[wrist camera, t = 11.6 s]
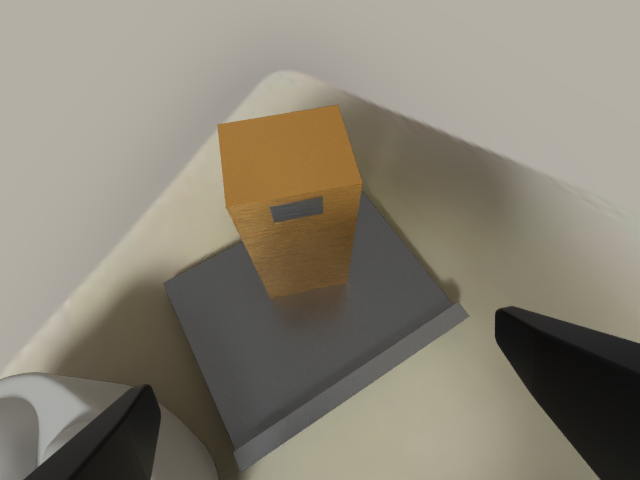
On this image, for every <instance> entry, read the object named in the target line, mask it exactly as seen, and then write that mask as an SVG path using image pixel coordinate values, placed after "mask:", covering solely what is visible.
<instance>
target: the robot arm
mask: <svg viewBox="0 0 640 480" xmlns="http://www.w3.org/2000/svg"><path fill="white" fill-rule="evenodd" d="M495 339H496V342H497V344H498V346H499V347H500V349H501V350H502V352H503V353H504V355H505V356H506V358H507V359H508V361H509V362H510V364H511V365H512V367H513V368H514V370H515V371H516V373H517V374H518V376H519V377H520V379H521V380H522V382H523V383H524V385H525V386H526V388H527V389H528V391H529V392H530V393H531V395H532V396H533V397H534V399H535V400H536V401H537V402H538V404H539V405H540V406H541V407H542V409H543V410H544V411H545V412H546V413H547V415H548V416H549V417H550V418H551V420H552V421H553V422H554V423H555V425H556V426H557V427H558V428H559V429H560V431H561V432H562V433H563V434H564V436H565V437H566V438H567V439H568V440H569V442H570V443H571V444H572V445H573V447H574V448H575V449H576V450H577V451H578V453H579V454H580V455H581V456H582V458H583V459H584V460H585V461H586V463H587V464H588V465H589V466H590V467H591V469H592V470H593V471H594V472H595V474H596V475H597V476H598V477H599V478H600V480H640V343H636V342H633V341H630V340H626V339H623V338H619V337H616V336H613V335H609V334H606V333H602V332H599V331H596V330H592V329H589V328H585V327H582V326H579V325H575V324H572V323H568V322H565V321H562V320H558V319H555V318H552V317H548V316H545V315H541V314H538V313H535V312H531V311H528V310H524V309H521V308H518V307H514V306H509V307H504V308H500V309H498V310H497V311H496V313H495ZM160 423H161V410H160V407H159V404H158V402H157V399H156V397H155V394H154V392H153V389H152V387H151V386H150V385H148V384H145V385H140V386H135V387H132V388H130V389H129V390H127V391H126V392H125V393H124V394H123V395H122V396H120V397H119V398H118V399H117V400H116V401H115V402H113V403H112V404H111V405H110V406H109V407H108V408H106V409H105V410H104V411H103V412H102V413H101V414H99V415H98V416H97V417H96V418H95V419H94V420H92V421H91V422H90V423H89V424H88V425H87V426H85V427H84V428H83V429H82V430H81V431H79V432H78V433H77V434H76V435H75V436H74V437H72V438H71V439H70V440H69V441H68V442H67V443H65V444H64V445H63V446H62V447H61V448H60V449H58V450H57V451H56V452H55V453H54V454H53V455H51V456H50V457H49V458H48V459H47V460H46V461H44V462H43V463H42V464H41V465H40V466H39V467H37V468H36V469H35V470H34V471H33V472H31V473H30V474H29V475H28V476H27V477H26V478H24V479H23V480H151V476H152V470H153V464H154V458H155V453H156V447H157V441H158V435H159V429H160Z"/></svg>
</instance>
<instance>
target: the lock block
mask: <svg viewBox="0 0 640 480" xmlns="http://www.w3.org/2000/svg"><path fill="white" fill-rule="evenodd" d="M218 134H219V144H220V154H221V163H222V173H223V183H224V192H225V202H226V208H227V210H228V213H229V215H230V217H231V219H232V221H233V223H234V225H235V227H236V229H237V231H238V233H239V235H240V237H241V239H242V241H243V243H244V245H245V247H246V249H247V251H248V253H249V255H250V258H251V260H252V262H253V264H254V266H255V268H256V270H257V272H258V274H259V276H260V278H261V280H262V282H263V284H264V286H265V288H266V290H267V292H268V294H269V296H270V298H273V297H278V296H283V295H288V294H293V293H298V292H302V291H307V290H312V289H317V288H322V287H327V286H332V285H337V284H342V283H347V280H348V273H349V267H350V261H351V254H352V248H353V241H354V235H355V228H356V222H357V215H358V209H359V203H360V196H361V190H362V179H361V176H360V173H359V170H358V167H357V163H356V160H355V157H354V154H353V151H352V147H351V144H350V141H349V138H348V135H347V131H346V128H345V125H344V122H343V119H342V115H341V112H340V109H339V106H338V105H334V106H328V107H322V108H316V109H309V110H303V111H297V112H291V113H285V114H279V115H273V116H267V117H261V118H255V119H249V120H242V121H236V122H230V123H224V124H218Z"/></svg>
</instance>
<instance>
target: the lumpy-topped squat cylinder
mask: <svg viewBox="0 0 640 480" xmlns="http://www.w3.org/2000/svg"><path fill="white" fill-rule="evenodd" d="M132 387H133V386H130V385H125V384H119V383H112V382H105V381H98V380H91V379H83V378H76V377H68V376H60V375H53V374H47V373H38V372H31V373H22V374H17V375H13V376H9V377H6V378H3V379H0V480H23V479H24V478H26V477H27V476H28V475H29V474H30V473H31V472H33V471H34V470H35V469H36V468H37V467H39V466H40V465H41V464H42V463H43V462H44V461H46V460H47V459H48V458H49V457H50V456H51V455H53V454H54V453H55V452H56V451H57V450H58V449H60V448H61V447H62V446H63V445H64V444H65V443H67V442H68V441H69V440H70V439H71V438H72V437H74V436H75V435H76V434H77V433H78V432H79V431H81V430H82V429H83V428H84V427H85V426H87V425H88V424H89V423H90V422H91V421H92V420H94V419H95V418H96V417H97V416H98V415H99V414H101V413H102V412H103V411H104V410H105V409H106V408H108V407H109V406H110V405H111V404H112V403H113V402H115V401H116V400H117V399H118V398H119V397H120V396H122V395H123V394H124V393H125V392H126V391H127V390H129V389H130V388H132ZM158 404H159V407H160V410H161V423H160V429H159V435H158V441H157V447H156V453H155V458H154V464H153V470H152V476H151V480H219V477H218V473H217V470H216V467H215V464H214V461H213V459H212V457H211V455H210V453H209V451H208V450H207V449H206V447H205V446H204V445H203V443H202V442H201V441H200V440H199V439H198V438H197V437H196V435H195V434H194V433H193V432H192V431H191V430H190V429H189V428H188V427H187V426H186V425H185V424H184V423H183V422H182V421H181V420H180V419H179V418H178V417H176V416H175V415H174V414H173V413H172V412H171V411H170V410H168V409H167V408H166V407H165V406H163V405H162V404H160V403H159V402H158Z"/></svg>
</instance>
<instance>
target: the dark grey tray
mask: <svg viewBox="0 0 640 480" xmlns="http://www.w3.org/2000/svg"><path fill="white" fill-rule="evenodd" d="M163 284H164V287H165V289H166V291H167V294H168V296H169V298H170V301H171V303H172V305H173V307H174V310H175V312H176V314H177V317H178V319H179V321H180V324H181V326H182V328H183V330H184V333H185V335H186V337H187V340H188V342H189V344H190V347H191V349H192V351H193V353H194V356H195V358H196V360H197V363H198V365H199V367H200V370H201V372H202V374H203V376H204V379H205V381H206V383H207V386H208V388H209V390H210V393H211V395H212V397H213V400H214V402H215V404H216V406H217V409H218V411H219V413H220V416H221V418H222V420H223V423H224V425H225V427H226V429H227V432H228V434H229V436H230V439H231V441H232V443H233V446H234V448H235V451H234V452H232V453H233V455H234V458H235V460H236V462H237V465H238V467H239V469H240V472H242V471H243V470H245V469H246V468H248V467H249V466H251V465H252V464H254V463H255V462H257V461H258V460H260V459H261V458H262V457H264V456H265V455H267V454H268V453H270V452H271V451H273V450H274V449H276V448H277V447H279V446H280V445H282V444H283V443H284V442H286V441H287V440H289V439H290V438H292V437H293V436H295V435H296V434H298V433H299V432H301V431H302V430H303V429H305V428H306V427H308V426H309V425H311V424H312V423H314V422H315V421H317V420H318V419H320V418H321V417H323V416H324V415H325V414H327V413H328V412H330V411H331V410H333V409H334V408H336V407H337V406H339V405H340V404H342V403H343V402H344V401H346V400H347V399H349V398H350V397H352V396H353V395H355V394H356V393H358V392H359V391H361V390H362V389H363V388H365V387H366V386H368V385H369V384H371V383H372V382H374V381H375V380H377V379H378V378H380V377H381V376H383V375H384V374H385V373H387V372H388V371H390V370H391V369H393V368H394V367H396V366H397V365H399V364H400V363H402V362H403V361H404V360H406V359H407V358H409V357H410V356H412V355H413V354H415V353H416V352H418V351H419V350H421V349H422V348H423V347H425V346H426V345H428V344H429V343H431V342H432V341H434V340H435V339H437V338H438V337H440V336H441V335H443V334H444V333H445V332H447V331H448V330H450V329H451V328H453V327H454V326H456V325H457V324H459V323H460V322H462V321H463V320H464V319H466V318H467V317H469V315H468V314H467V312H466V311H465V310H464V309H463V307H462V306H461V305H460V304H459V302H457V303H456V304H454V305H453V304H452V303H451V301H450V300H449V299H448V298H447V296H446V295H445V294H444V293H443V291H442V290H441V289H440V288H439V286H438V285H437V284H436V283H435V281H434V280H433V279H432V278H431V276H430V275H429V274H428V273H427V271H426V270H425V269H424V268H423V266H422V265H421V264H420V263H419V261H418V260H417V259H416V258H415V256H414V255H413V254H412V253H411V251H410V250H409V249H408V247H407V246H406V245H405V244H404V242H403V241H402V240H401V239H400V237H399V236H398V235H397V234H396V232H395V231H394V230H393V229H392V227H391V226H390V225H389V224H388V222H387V221H386V220H385V219H384V217H383V216H382V215H381V214H380V212H379V211H378V210H377V209H376V207H375V206H374V205H373V204H372V202H371V201H370V200H369V199H368V197H367V196H366V195H365V194H364V192H363V191H362V190H361V196H360V203H359V209H358V215H357V222H356V228H355V235H354V241H353V248H352V254H351V261H350V267H349V273H348V280H347V283H342V284H337V285H332V286H327V287H322V288H317V289H312V290H307V291H302V292H298V293H293V294H288V295H283V296H278V297H273V298H270V296H269V294H268V292H267V290H266V288H265V286H264V284H263V282H262V280H261V278H260V276H259V274H258V272H257V270H256V268H255V266H254V264H253V262H252V260H251V258H250V255H249V253H248V251H247V249H246V247H245V245H244V243H243V241H242V242H240V243H238V244H236V245H235V246H233V247H231V248H229V249H227V250H225V251H223V252H221V253H219V254H218V255H216V256H214V257H212V258H210V259H208V260H206V261H204V262H202V263H200V264H199V265H197V266H195V267H193V268H191V269H189V270H187V271H185V272H183V273H182V274H180V275H178V276H176V277H174V278H172V279H170V280H168V281H166V282H165V283H163Z"/></svg>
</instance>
